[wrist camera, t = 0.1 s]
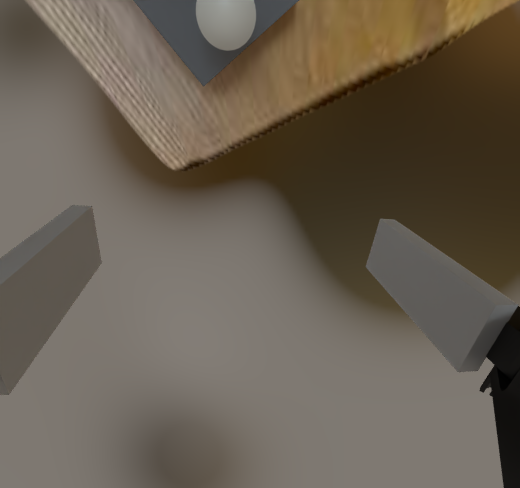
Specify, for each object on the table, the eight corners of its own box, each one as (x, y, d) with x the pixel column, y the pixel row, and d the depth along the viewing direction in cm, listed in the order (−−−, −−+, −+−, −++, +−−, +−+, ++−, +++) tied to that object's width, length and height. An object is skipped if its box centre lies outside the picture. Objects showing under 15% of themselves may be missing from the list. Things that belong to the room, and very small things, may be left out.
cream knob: (228, -45, 24) (229, -44, 19) (259, 9, 27) (267, 23, 22) (190, -4, 26) (182, 7, 21) (223, 43, 28) (223, 63, 23)
